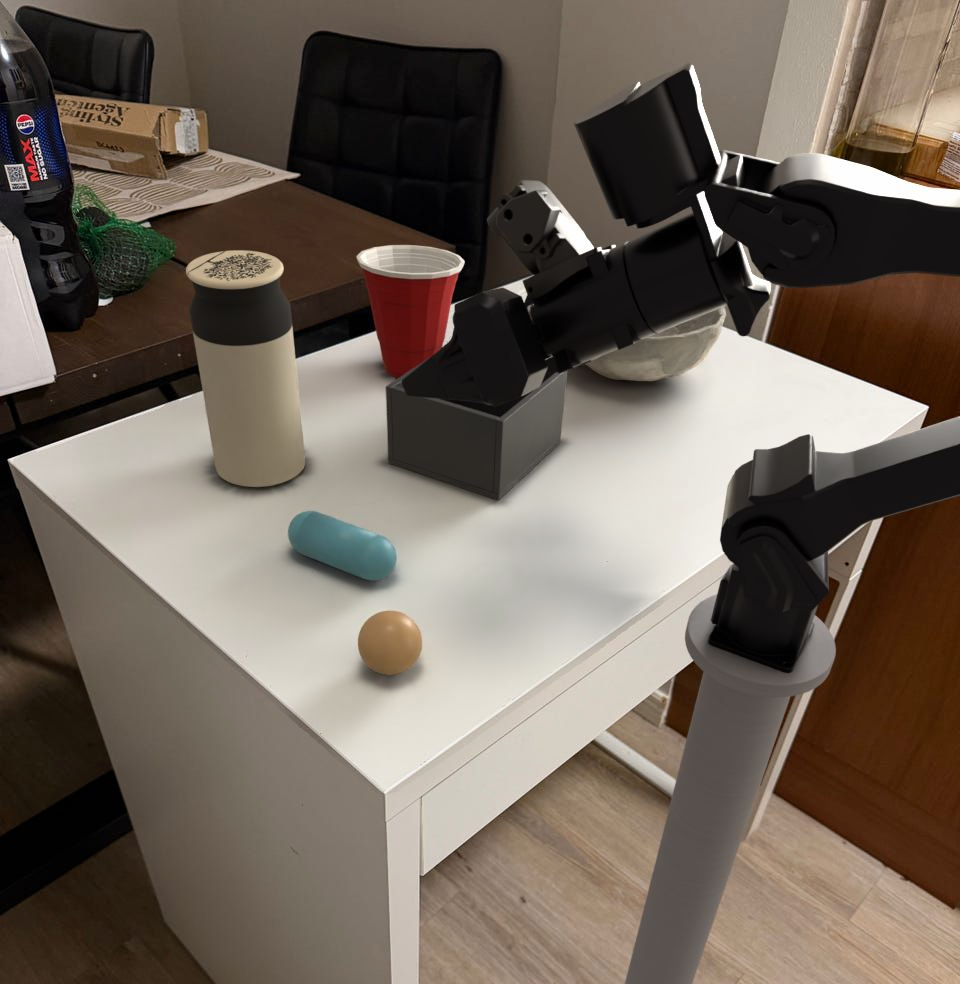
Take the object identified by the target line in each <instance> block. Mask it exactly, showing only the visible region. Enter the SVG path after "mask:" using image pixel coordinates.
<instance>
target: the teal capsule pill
mask: <svg viewBox="0 0 960 984" xmlns="http://www.w3.org/2000/svg"><path fill="white" fill-rule="evenodd" d="M287 537H288V541H289V544H290V546H291V547H292V548H293V549H294V550H295V551H296V552H298V554H301V555H302V556H306V557H307V558H310V559H312V560H315V561H318V562H320V563H323V564H326V565H328V566H330V567H333V568H335V569H337V570H340V571H343V572H345V573H349V574H351V575H354V576H356V577H359V578H361V579H364V580H366V581H372V582H373V581H374V582H375V581H381V580H383V579H385V578H387V577H388V576H389V575H390V574H392V572H393V571H394V570H395V568H396V564H397V560H398V555H397V550H396V548H395V546H394V544H393V543H392V541H391V540H390V539H388V538H387V537H385V536H384V535H382V534H379V533H376V532H373V531H371V530H368V529H366V528H363V527H361V526H357V525H356V524H355V525H354V524H352V523H350V522H346V521H344V520H341V519H339V518H336V517H334V516H332V515H328V514H325V513H322V512H319V511H316V510H304V511H302V512H301V511H300V512H299V513H298V514H295V516H294V517H293V518H292V519H291V521H290V523H289V525H288V529H287Z"/></svg>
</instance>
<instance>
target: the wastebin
mask: <svg viewBox="0 0 960 984" xmlns="http://www.w3.org/2000/svg"><path fill="white" fill-rule="evenodd" d="M428 359H429V358H428ZM425 361H426V360H425ZM425 361H424V362H425ZM424 362H422V363H424ZM422 363H420V364H419V365H417V366H416V367H414V368H413V369H411V370H410V371H408V372H407V373H405V374H404V375H402V376H401V377H399V378H396V379H394V380H393V381H392V382H390V383H388V384H387V385H386V386H385V403H386V404H385V405H386V406H385V408H386V432H387V435H386V436H387V463H388V464H391V465H393V466H397V467H398V468H399V467H400V468H401V469H404V470H405V469H406V470H408V471H411V472H414V473H417V474H419V475H423V476H426V477H429V478H432V479H435V480H438V481H441V482H444V483H446V484H450V485H452V486H456V487H458V488H460V489H465V490H467V491H470V492H472V493H476V494H479V495H482V496H485V497H488V498H490V499H494V500H496V501H499V500H501V499H502V498H503V497H504V496H505V495H506V494H508V493H509V491H511V490H512V489H513V488H514V487H515V486H516V485H517V484H518V483H519V482H520V481H522V480H523V478H524V477H526V476H527V475H528V474H529V473H530V472H531V471H532V470H533V469H534V468H535V467H537V465H539V464H540V463H541V462H542V461H543V460H544V459H545V458H546V457H547V456H548V455H549V454H550V453H551V452H552V451H554V449H556V448H557V447H558V446H559V445H560V444H561V441H562V431H563V419H564V409H565V401H566V400H565V398H566V389H567V380H568V379H567V378H568V370H567V371H565V372H562V373H560V374H559V373H545V376H544V378H543V381H542V383H541V386H540V387H539V388H537V389H535V390H533V391H531V392H529V393H527V394H525V395H523V396H521V397H519V398H517V399H514V400H511V401H509V402H506V403H504V404H501V405H499V406H496V407H493V406H492V405H487V404H485V403H481V402H472V401H462V400H450V399H438V398H424V397H410V396H407V395H406V393H405V391H404V388H403V386H402V380H403V379H404V378H405V377H406V376H407V375H409V374H410V373H411V372H412V371H414V370H415V369H416V368H417V367H419V366H420V365H421V364H422Z"/></svg>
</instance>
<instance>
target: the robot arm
mask: <svg viewBox="0 0 960 984" xmlns="http://www.w3.org/2000/svg"><path fill="white" fill-rule="evenodd" d="M698 79H699V78H698V76H697V73H696V70H695V67H694V65H693V64H691V63H685V64H683V65H682V66H680V67H677V68H676V69H674V70H672V71H671V72H665V73H663V74H661V75H658V76H655V77H654V78H651V79H649V80H647V81H645V82H642V83H641V82H640V81H636V82H635V83H633V84H630V85H629V86H626V87H625V88H624V89H621V90H620V91H618V92H617V93H615V94H612V95H611V96H610V97H608V98H607V99H604V100H603V101H601V102H600V103H598V104H597V105H595V106H593V107H592V108H591V109H589V110H587V111H586V112H584V113H583V114H582V115H580V116H579V117H578V118H577V119H576V120H575V121H574V122H573V125H574V127H575V130H576V132H577V134H578V137H579V140H580V141H581V144H582V148H583V149H584V151H585V153H586V156H587V159H588V161H589V164H590V166H591V169H592V170H593V171H592V172H593V173H594V176H595V178H596V181H597V183H598V186H599V188H600V190H601V192H602V195H603V198H604V200H605V203H606V205H607V207H608V210H609V211H610V215H611V216H612V220H613V219H614V220H623V219H624V222H625V224H626V227H628V228H629V227H633V226H634V227H635V228H636V229H645V228H649V227H651V226H654V225H657V224H659V223H661V222H664V221H665V220H667V219H669V218H672V217H673V216H675V215H677V214H679V213H680V212H682V211H684V210H686V209H689V208H690V209H691V212H689V213H687V214H685V215H683V216H680V217H678V218H676V219H674V220H672V221H669V222H667V223H665V224H663V225H661V226H658V227H656V228H654V229H652V230H650V231H648V232H646V233H643V234H641V235H639V236H636V237H635V238H632V239H630V240H628V241H625V242H624V243H621V244H619V245H617V246H616V244H611V245H608V246H606V247H604V248H602V246H598V247H594V245H593V244H592V243H591V241H590V240H589V238H587V236H586V234H585V232H584V230H583V229H582V228H581V226H580V225H579V224H578V223H577V221H576V220H575V219H574V218H573V216H572V215H571V213H570V212H569V211H568V210H567V209H566V207H565V206H564V205H563V203H561V202H560V200H559V198H558V197H557V196H556V195H555V193H553V192H552V190H551V189H550V188H549V187H548V186H547V185H546V184H545V183H543V182H542V181H540V180H534V179H533V180H530V179H529V180H528V179H521V180H520V181H519V182H518V184H516V185H515V187H514V188H513V189H512V190H510V191H509V192H506V193H501V194H500V195H498V197H496V208H495V209H494V210H493V211H492V212H491V213H490V215H488V217H487V218H486V222H487V225H488V227H489V229H490V231H492V232H493V234H494V235H495V237H498V238H501V239H502V240H503V241H504V242H505V244H506V245H507V246H508V248H509V249H510V250H511V251H512V252H513V254H515V256H516V258H517V259H518V260H519V261H520V262H521V264H522V265H523V266H524V267H525V269H526V270H527V271H529V272H530V273H531V274H532V276H529V277H527V278H525V279H522V284H523V287H524V289H525V293H526V296H525V300H524V299H523V297H522V295H520V294H518V293H516V292H513V291H512V290H509V289H507V288H505V287H497V288H493V289H489V290H484V291H481V292H479V293H476V294H473V295H471V296H469V297H468V298H466V299H464V300H461V301H459V302H456V303H455V304H454V307H453V308H454V309H453V310H454V312H453V314H452V324H453V329H452V334H451V338H450V339H449V341H448V342H447V343H446V344H443V346H442V348H441V349H440V350H439V351H437V352H436V353H435V354H434V355H432V356H431V357H430V358H429V359H427V360H426V361H425V362H424V363H422V364H421V365H420V366H419V367H417V368H416V369H415V370H414V371H412V372H411V373H410V374H409V375H407V376H406V377H405V378H404V379H403V380H402V386H403V388H404V391H405V393H406V395H407V396H410V397H424V398H438V399H450V400H462V401H472V402H481V403H485V404H487V405H492V406H493V407H496V406H499V405H501V404H504V403H506V402H509V401H511V400H514V399H517V398H519V397H521V396H523V395H525V394H527V393H529V392H531V391H533V390H535V389H537V388H539V387H540V386H541V383H542V381H543V378H544V376H545V373H559V374H560V373H562V372H565V371H567V372H568V371H570V370H572V369H575V368H577V367H580V366H583V365H585V363H588V362H590V361H592V360H594V359H596V358H598V357H600V356H602V355H604V354H607V353H609V352H612V351H614V350H617V349H618V350H620V349H622V348H625V347H627V346H630V345H632V344H635V343H636V342H638V341H640V340H642V339H644V338H647V337H649V336H652V335H654V334H657V333H659V332H661V331H664V330H666V329H669V328H671V327H674V326H676V325H679V324H681V323H684V322H686V321H689V320H691V319H694V318H696V317H699V316H701V315H704V314H706V313H709V312H712V311H714V310H717V309H719V308H722V307H724V306H725V307H726V306H727V307H728V308H727V309H728V311H729V314H730V318H731V319H732V322H733V324H734V327H735V331H736V333H737V334H738V335H739V336H740V337H748V336H749V335H750V333H751V331H752V329H753V325H754V323H755V321H756V318H757V317H758V314H759V312H760V311H761V309H762V308H763V307H764V305H765V304H767V302H768V301H769V300H770V298H771V292H772V285H776V286H779V287H783V288H787V289H806V288H807V289H808V288H809V289H811V288H823V287H825V288H826V287H836V286H852V285H856V284H859V283H865V282H868V281H871V280H876V279H879V278H883V277H887V276H892V275H903V274H904V275H905V274H922V275H923V274H925V275H935V276H946V277H956V278H960V189H949V188H939V187H938V188H937V187H928V186H924V185H920V184H917V183H913V182H909V181H907V180H904V179H901V178H900V177H899V178H898V177H897V176H894V175H892V174H889V173H886V172H884V171H882V170H879V169H877V168H874V167H871V166H868V165H864V164H861V163H857V162H853V161H849V160H845V159H842V158H838V157H834V156H831V155H827V154H823V153H817V152H807V153H797V154H794V155H790V156H787V157H785V159H783V161H780V162H779V161H776V160H775V161H774V160H770V159H767V158H766V159H765V158H761V157H758V156H757V157H756V156H753V155H748V154H744V153H739V152H734V151H730V150H726V149H721V150H719V149H718V146H717V143H716V140H715V138H714V137H715V136H714V134H713V131H712V129H711V125H710V123H709V120H708V117H707V114H706V112H705V109H704V106H703V105H704V104H703V102H702V94H701V87H700V86H701V85H700V83H699V80H698ZM743 246H744V247H745V248H747V251H748V254H749V257H750V260H751V263H752V264H753V265H754V267H755V268H756V269H757V270H758V272H759V274H761V275H762V278H760V277H757V276H756V275H754V274H753V273H752V271H751V267H750V265H749V261H748V259H747V255H746V253H745V250H744V248H743ZM726 486H727V487H726V493H725V500H724V507H723V513H722V514H723V515H722V521H721V529H720V536H719V543H720V546H721V550H722V552H723V554H724V555H725V556H726V558H727V559H728V561H729V562H731V563H732V564H730V566H729V567H728V568H727V570H726V572H725V573H724V575H723V576H722V578H721V579H720V582H719V585H718V590H717V593H716V595H717V597H716V601H715V605H714V609H713V613H712V617H711V622H712V624H715V625H716V626H715V627H714V629H713V631H712V632H711V634H710V635H709V639H708V643H709V644H710V645H711V646H713V647H716V648H719V649H722V650H724V651H727V652H730V653H732V654H735V655H738V656H741V657H743V658H746V659H749V660H752V661H754V662H757V663H760V664H762V665H765V666H768V667H771V668H773V669H776V670H779V671H781V672H784V673H791V672H792V671H793V670H794V668H795V666H796V664H797V662H798V660H799V657H800V655H801V653H802V651H803V649H804V647H805V645H806V643H807V641H808V639H809V637H810V635H811V633H812V631H813V628H814V623H813V622H812V621H813V619H814V616H816V613H817V610H818V606H819V604H820V603H821V602H822V601H823V600H824V599H825V598H826V597H827V596H828V594H829V590H830V587H829V586H830V585H829V583H830V582H829V552H830V551H831V550H832V549H833V548H834V547H836V546H837V545H839V544H840V543H841V542H843V541H844V540H845V539H846V538H847V537H849V536H851V534H852V533H854V532H855V531H856V530H858V529H859V528H860V527H862V526H863V525H865V524H867V523H871V522H874V521H876V520H880V519H883V518H886V517H889V516H893V515H897V514H900V513H904V512H907V511H910V510H914V509H917V508H922V507H924V506H928V505H932V504H935V503H938V502H941V501H945V500H949V499H952V498H956V497H959V496H960V416H956V417H954V418H950V419H947V420H944V421H941V422H938V423H935V424H931V425H929V426H926V427H923V428H920V429H916V430H913V431H911V432H908V433H905V434H902V435H898V436H896V437H892V438H890V439H886V440H884V441H879V442H877V443H874V444H871V445H868V446H865V447H861V448H859V449H856V450H853V451H848V452H833V451H820V450H816V447H815V439H814V436H813V434H811V433H808V434H804V435H800V436H798V437H796V438H794V439H792V440H790V441H788V442H786V443H784V444H782V445H779V446H775V447H771V448H756V449H754V450H753V455H752V459H751V460H749V461H747V462H745V463H743V464H741V465H740V466H739V467H738V468H736V469H735V470H734V473H733V474H732V476H731V478H730V481H729V482H728V483H727V485H726ZM786 666H787V667H786Z"/></svg>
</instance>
